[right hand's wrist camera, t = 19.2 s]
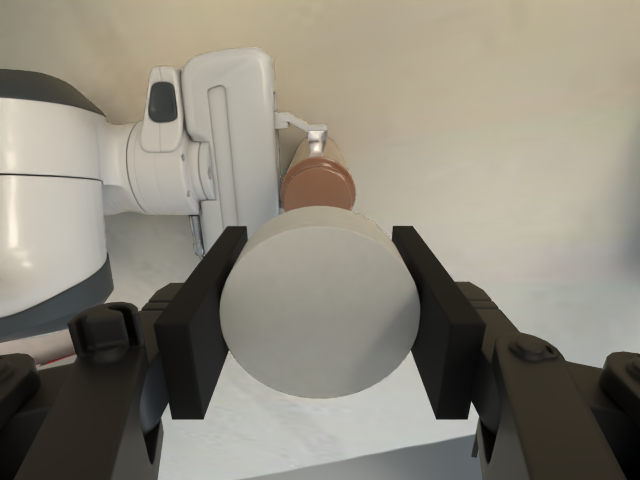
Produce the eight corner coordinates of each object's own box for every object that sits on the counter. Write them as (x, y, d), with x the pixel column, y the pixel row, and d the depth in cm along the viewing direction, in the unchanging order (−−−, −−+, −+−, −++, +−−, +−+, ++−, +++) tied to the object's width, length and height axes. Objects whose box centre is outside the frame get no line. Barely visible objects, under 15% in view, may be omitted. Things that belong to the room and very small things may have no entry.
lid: (217, 330, 13) (199, 370, 11) (262, 179, 11) (249, 195, 9) (366, 373, 13) (373, 418, 11) (433, 238, 11) (456, 266, 9)
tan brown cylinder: (347, 145, 40) (372, 180, 22) (329, 186, 41) (338, 251, 23) (305, 127, 39) (294, 147, 21) (289, 169, 41) (265, 223, 23)
